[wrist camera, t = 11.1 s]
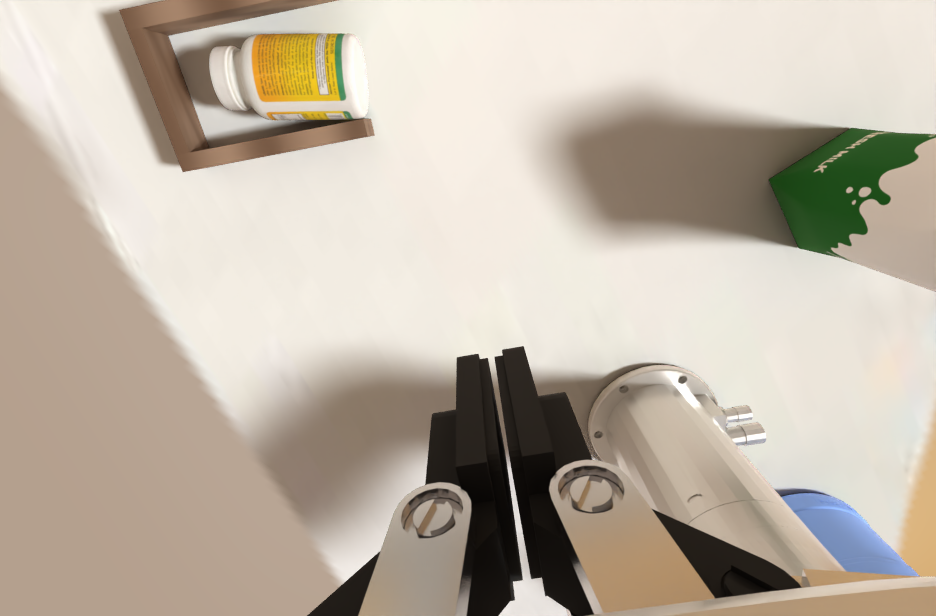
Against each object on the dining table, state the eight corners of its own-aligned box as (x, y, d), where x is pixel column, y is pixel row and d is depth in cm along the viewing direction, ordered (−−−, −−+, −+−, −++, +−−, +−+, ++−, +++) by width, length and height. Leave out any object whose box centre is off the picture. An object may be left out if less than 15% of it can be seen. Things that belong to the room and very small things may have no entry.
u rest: (337, -21, 33) (326, -34, 30) (374, 135, 36) (367, 136, 34) (147, 19, 33) (119, 10, 30) (203, 168, 37) (183, 172, 34)
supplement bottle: (367, 134, 34) (235, 138, 34) (371, 80, 36) (247, 83, 36) (350, 72, 29) (195, 75, 29) (355, 13, 31) (211, 16, 31)
